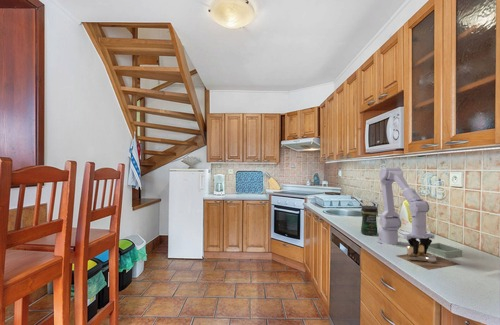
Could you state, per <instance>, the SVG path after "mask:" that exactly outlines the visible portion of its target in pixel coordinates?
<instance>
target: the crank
mask: <svg viewBox="0 0 500 325" xmlns="http://www.w3.org/2000/svg"><path fill="white" fill-rule="evenodd" d="M406 254H407V256H408V258H409V259H411V260H423V261H426V262H429V263H436V258H435V257H433V256H428V255H425V256H413V246H410V245H406Z"/></svg>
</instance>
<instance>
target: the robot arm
mask: <svg viewBox="0 0 500 325" xmlns="http://www.w3.org/2000/svg"><path fill="white" fill-rule="evenodd" d="M378 174H379V181H380V184H381V185H380V186H381V195H382V202H383V211H382V213H380V214H379V225H380V228H379V229H378V240H377V243H379V244H382V245H383V244H386V245H391V246H397V245H398V244H399V230H400V228H402V220H401V217H400V214H399V213H397V211H395V210H396V209H395V199H394V192H393V184H394V182H396V184H397V185H398V186H399V187H400V189H401V190H402V193H401V194H402V195H403V197H404V198H405V200H406V202H407V203H408V209H409V212H410V216H411V233H405V234H403V239H404V240H407V242H408V243H409V246H413V254H416V255H417V254H418V245H419V243H421V244H424V254H426V252H427V253H428V251H427V249H428V247H429V245H430V244H433V240H434V239H435V234H433V233H427V213H428V212H429V211H430V203H429V202H428V201H427V200H424V199H423V198H421V196H420V195H419V194H418V193H417V191H416V190H415V189H414V188H412V187H410V186H409V183H408V182H407V181H406V178H405V177H404V171H403V170H402V168H401V167H399V166H395V167H394V166H393V167H390V166H389V167H386V166H385V167H384V166H383V167H382V168H381V169H380V170H379V173H378ZM432 239H433V240H432Z"/></svg>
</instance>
